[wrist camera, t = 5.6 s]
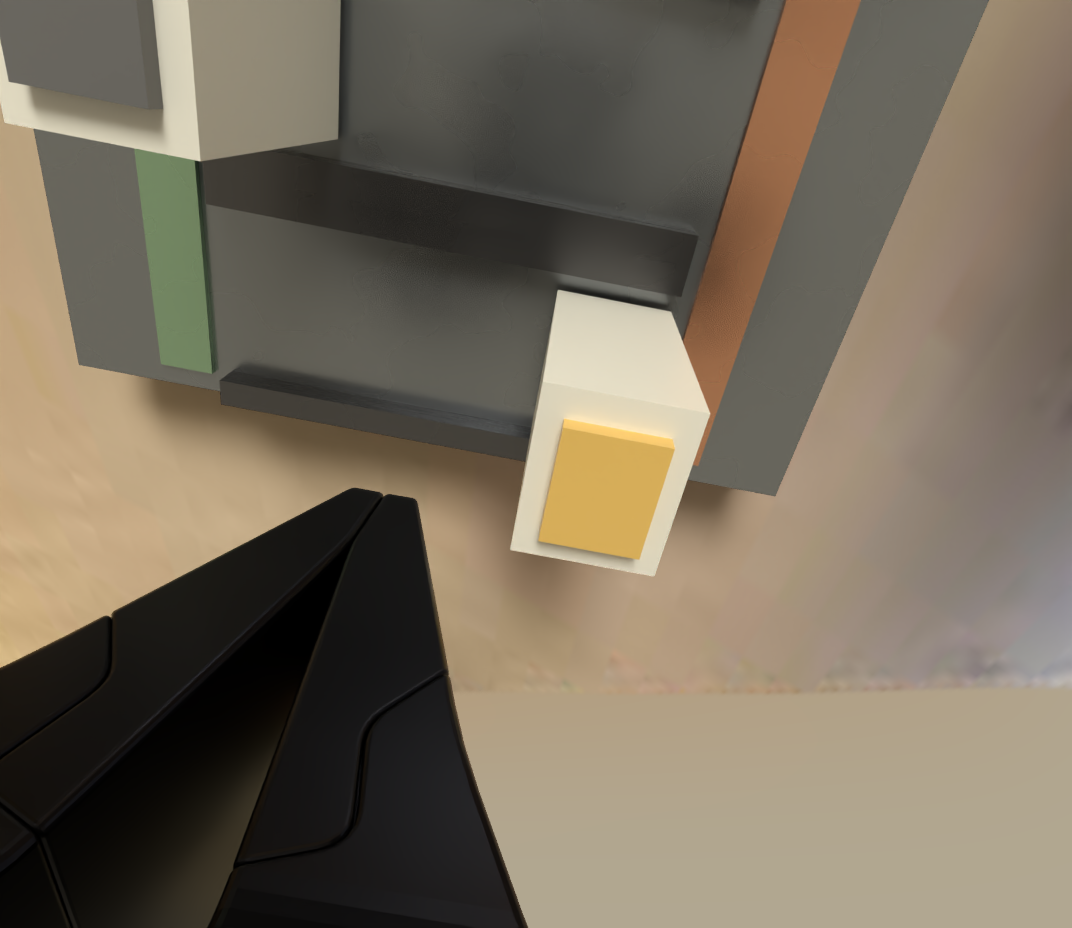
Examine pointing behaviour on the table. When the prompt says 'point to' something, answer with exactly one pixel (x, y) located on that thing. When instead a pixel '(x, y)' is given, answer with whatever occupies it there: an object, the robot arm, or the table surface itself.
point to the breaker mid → (174, 72)
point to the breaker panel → (525, 214)
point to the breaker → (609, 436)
